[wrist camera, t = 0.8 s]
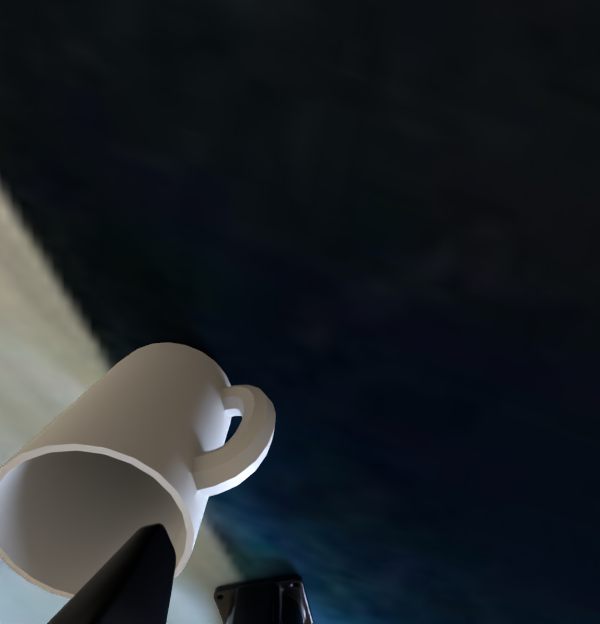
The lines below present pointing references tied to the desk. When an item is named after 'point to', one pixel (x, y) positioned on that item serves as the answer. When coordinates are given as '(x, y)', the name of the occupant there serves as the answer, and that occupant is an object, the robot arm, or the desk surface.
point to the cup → (129, 465)
